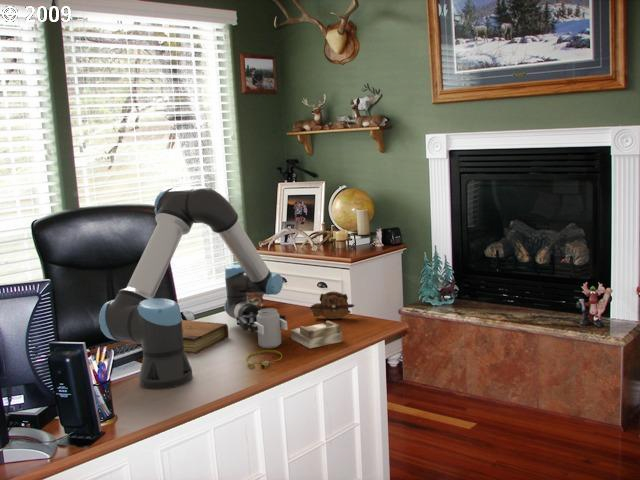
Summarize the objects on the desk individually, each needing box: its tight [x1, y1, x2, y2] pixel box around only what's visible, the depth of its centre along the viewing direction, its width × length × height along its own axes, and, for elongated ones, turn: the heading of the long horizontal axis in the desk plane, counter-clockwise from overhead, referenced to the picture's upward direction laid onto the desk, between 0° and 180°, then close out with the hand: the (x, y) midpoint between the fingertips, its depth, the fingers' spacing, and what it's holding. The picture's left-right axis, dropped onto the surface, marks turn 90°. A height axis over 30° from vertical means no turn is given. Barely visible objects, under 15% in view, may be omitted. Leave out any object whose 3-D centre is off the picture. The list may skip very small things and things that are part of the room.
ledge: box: [290, 320, 343, 349], centre depth 243 cm, size 12×14×6 cm
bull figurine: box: [248, 293, 265, 308], centre depth 294 cm, size 4×13×8 cm, turn 100°
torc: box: [245, 349, 283, 370], centre depth 226 cm, size 12×16×2 cm
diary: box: [182, 319, 230, 355], centre depth 250 cm, size 23×19×6 cm
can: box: [256, 307, 282, 349], centre depth 240 cm, size 8×8×12 cm
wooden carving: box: [309, 290, 355, 320], centre depth 268 cm, size 16×5×10 cm, turn 83°
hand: (274, 328), depth 235 cm, fingers closed on can, 7 cm apart
